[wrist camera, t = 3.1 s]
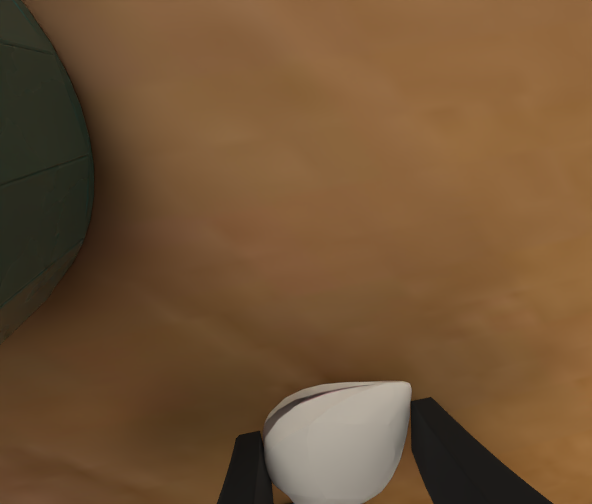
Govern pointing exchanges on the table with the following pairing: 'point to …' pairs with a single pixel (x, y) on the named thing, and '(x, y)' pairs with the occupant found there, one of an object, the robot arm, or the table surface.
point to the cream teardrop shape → (337, 440)
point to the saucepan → (38, 168)
